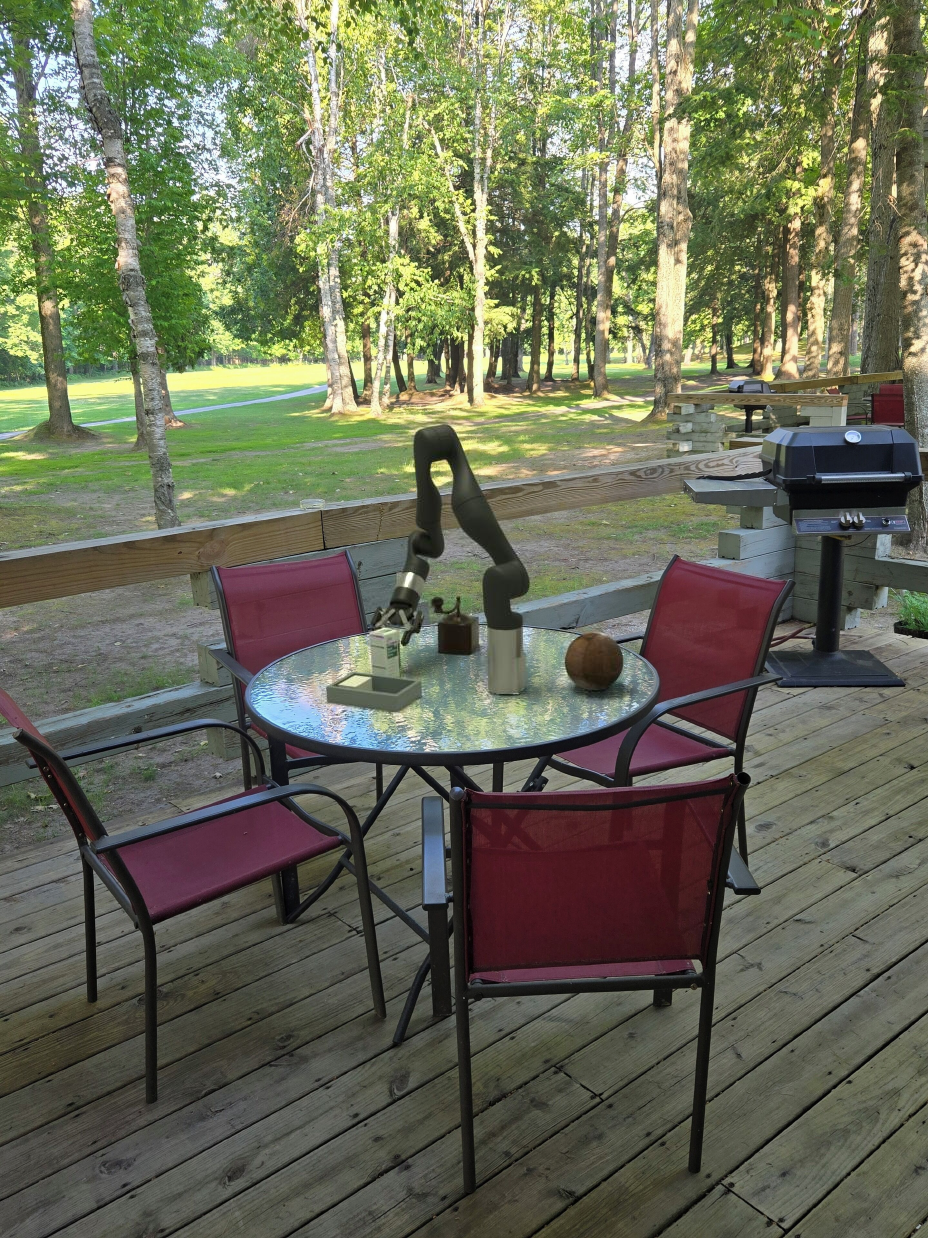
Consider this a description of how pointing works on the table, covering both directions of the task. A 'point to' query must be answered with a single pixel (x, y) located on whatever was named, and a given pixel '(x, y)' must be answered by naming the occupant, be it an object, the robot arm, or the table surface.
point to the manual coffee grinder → (456, 630)
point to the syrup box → (385, 652)
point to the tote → (377, 692)
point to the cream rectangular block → (358, 683)
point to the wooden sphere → (594, 661)
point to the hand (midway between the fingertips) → (389, 643)
